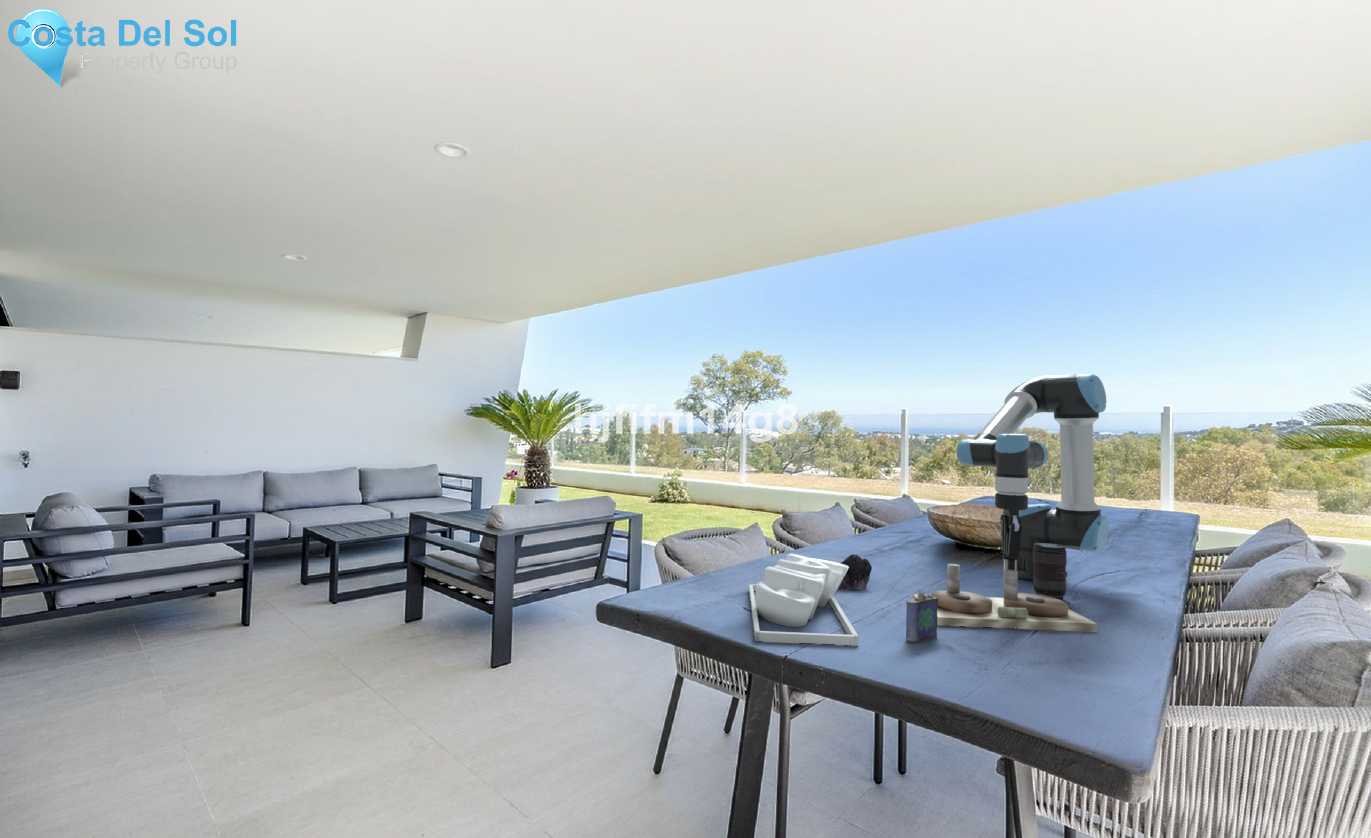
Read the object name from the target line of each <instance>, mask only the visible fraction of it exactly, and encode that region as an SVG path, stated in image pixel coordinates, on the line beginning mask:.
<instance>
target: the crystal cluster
mask: <svg viewBox="0 0 1371 838" xmlns="http://www.w3.org/2000/svg"><path fill="white" fill-rule="evenodd" d="M839 563H840V564H844V565H847V566H848V567H849V568H848V570H847V572H846V574H845V576H844V578H843V580H842V582H841V584H840V586H839V587H838V588H839V589H838V590H842V589H843V590H844V589H853V590H854V589H863V590H864V588H865V589H866V588H867V586H868V584H869V582H870V575H871V572H872V569H873V567H872V565H871V563H870V561H869V560H868V559H867V558H863V559H862V558H861V556H859V555H858V554H850V555H848V557H846V558H845V559H844V560H843V561H840V562H839Z"/></svg>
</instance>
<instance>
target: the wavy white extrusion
mask: <svg viewBox="0 0 1371 838" xmlns="http://www.w3.org/2000/svg"><path fill="white" fill-rule="evenodd" d="M840 563H841V562H837V561H831V560H826V559H822V558H821V559H820V558H814V557H813V558H812V557H808V556H804V555H799V554H796V553H788V554H787V555H786V556H785V559H783V558H780V559H779V560H777V563H776V565H773V566H767V567H766V568H765V569H764V574H763V575H764V577H763V581H761V580H760V581H759V582H757V584H756V583H755V584H756V585H755V591H756V592H755V603H756V610H757V616H760V617H761V618H762V619H764V620H766V621H768V620H769V621H771V622H770V623H772V622H773V624H775V623H776V624H777V625H779V624H781V625H780V626H783V625H785V626H784V627H789V628H791V627H792V628H801V627H805V626H807V624H808V621H809V620H808V619H812V620H813V618H814V615H815V612H816V609H817V608H818V607H821V608H825V607H827V606H828V603H829V602H828V601H829V599H830V597H831V595H832V596H834V597H835V595H836V593H837V591H838V590H839V589H838V587H839V586H840V584H841V582H842V580H843V578H844V576H845V574H846V572H847V570H848V568H849V567H848V566H847V565H844V564H840ZM769 621H768V622H769ZM804 625H805V626H804ZM800 626H801V627H800Z"/></svg>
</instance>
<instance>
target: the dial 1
mask: <svg viewBox="0 0 1371 838" xmlns="http://www.w3.org/2000/svg"><path fill="white" fill-rule="evenodd" d="M946 567H947V569H946V570H947V571H946V572H947V573H946V574H947V579H946V581H947V582H946V583H947V584H946V590H937V591H936V590H935V591H934V592H932V593H931V595H932V596H934V597H937V598H938V607H940V608H943V609H947V610H951V611H956V612H963V613H987V612H990V611H991V610H992V600H991V599H989V598H987V597H988V596H984V595H981V594H979V593H974V592H969V591H962V590H960V589H961V586H960V585H961V584H960V583H961V581H960V580H961V576H960V575H961V565H960V564H957V563H956V564H955V563H948V564H947V566H946Z"/></svg>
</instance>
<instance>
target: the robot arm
mask: <svg viewBox="0 0 1371 838" xmlns="http://www.w3.org/2000/svg"><path fill="white" fill-rule="evenodd" d="M1003 402H1004V404H1003V405H1002V406H1001V407H1000V408H999V410H998V411H997V412H996V413H995V414H994V416H993V417H991V419H990V420H989V421H988V422H987V423H986V424H985V425H984V427H983V428H982V429H981V430H980V431H979V432H978V434H977V435H976V436H975V437H974V438H973V439H972V438H968V439H965V438H964V439H961V440H960V441H959V442H958V443H957V446H956V457H957V461H958V462H959V463H960V464H961V465H964V466H965V465H966V466H972V467H990V468H991V467H993V468H994V467H995V476H994V491H996V493H995V494H994V506H995V507H996V508H998V509H1002V510H1003V511H1002V514H1000V517H999V520H1000V528H1001V529H1000V532H1001V536H1000V537H1001V554H1002V555H1003V556H1002V560H1003V571H1004V570H1005V569H1011V570H1016V571H1018V579H1021V580H1027V581H1028V580H1030V581H1033V577H1034V563H1033V548H1034V544H1036V543H1049V544H1058V545H1063V546H1065V549H1066V550H1068V549H1069V550H1075V551H1080V552H1090V553H1095V552H1098V551H1100V550H1101V549H1102V548H1103V546H1104V545H1105V543H1106V540H1107V538H1108V532H1109V522H1110V521H1109V517H1108V516H1107V515H1106V514H1103V513H1101V512H1102V511H1101V506H1099V504H1097V503H1096V501H1095V472H1094V471H1095V470H1094V469H1095V467H1094V465H1095V462H1094V424H1095V422H1096V421H1098V420H1099V418H1100V414H1101V413H1103V412H1105V410H1106V408H1107V394H1106V389H1105V387H1104V383H1103V381H1102V380H1101V378H1100V377H1099V376H1098V375H1096V374H1094V373H1093V374H1092V373H1077V374H1059V375H1041V376H1038V377H1033V378H1031V379H1029V380H1026V381H1025V382H1022V383H1021V384H1020V385H1018V386H1016V387H1014V388H1013V390H1011V391H1010V392H1009V393H1008V394H1007V395H1006V397H1005V399H1004V401H1003ZM1040 413H1053V420H1055V421H1056V422H1057V423H1058V424H1059V437H1060V438H1059V441H1060V442H1059V443H1060V444H1059V445H1060V452H1059V453H1060V455H1059V456H1060V457H1059V458H1060V490H1061V491H1060V495H1061V496H1060V497H1061V498H1060V501H1059V502H1058V503H1057V504H1056V505H1055V509H1053V507H1052V505H1051V504H1049V503H1046V504H1045V503H1036V504H1035V503H1033V504H1032V503H1030V504H1029V496H1028V495H1027V493H1029V485H1031V481H1030V480H1029V470H1030V469H1031V470H1036V469H1039V468H1040V467H1043V466H1044V465H1045V464H1046V463H1047V461H1048V459H1049V451H1048V449H1047V447H1046V446H1045V445H1044V444H1043V443H1042V442H1040V441H1036V440H1030V437H1029V436H1028V435H1027V434H1025V433H1024V434H1023V433H1016V432H1017V431H1018V429H1019V428H1020V427H1021V426H1022V425H1023V423H1025V422H1026V420H1027V419H1029V418H1032V417H1033V416H1035V414H1040Z"/></svg>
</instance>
